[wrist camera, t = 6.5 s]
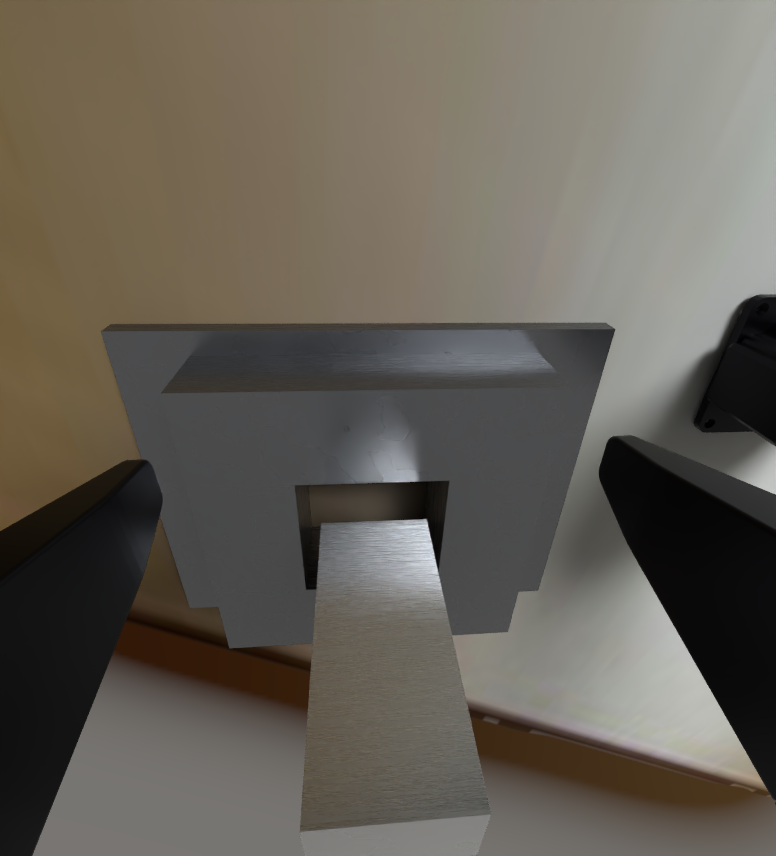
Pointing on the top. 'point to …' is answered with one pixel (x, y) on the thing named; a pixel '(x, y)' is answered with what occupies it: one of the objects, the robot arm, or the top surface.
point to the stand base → (356, 451)
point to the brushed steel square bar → (387, 704)
